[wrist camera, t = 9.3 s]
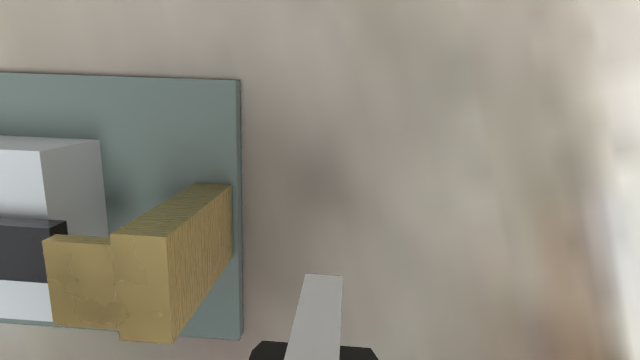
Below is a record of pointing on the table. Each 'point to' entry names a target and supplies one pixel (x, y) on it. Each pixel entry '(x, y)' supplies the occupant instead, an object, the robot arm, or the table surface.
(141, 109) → the clamping fixture
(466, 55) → the table surface
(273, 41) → the table surface
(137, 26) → the table surface
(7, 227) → the strap
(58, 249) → the notched wooden block
